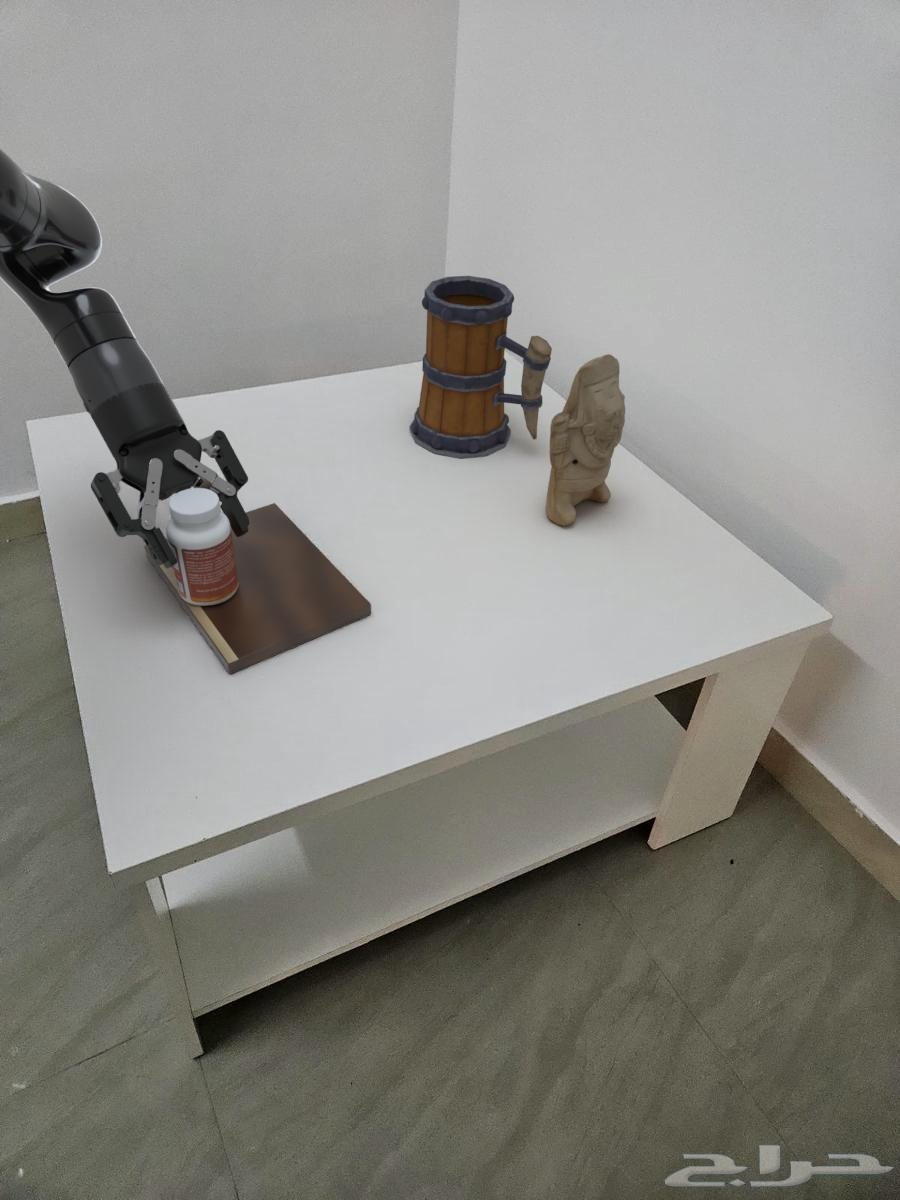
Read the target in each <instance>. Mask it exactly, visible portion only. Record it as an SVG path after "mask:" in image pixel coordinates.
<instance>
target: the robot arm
mask: <svg viewBox="0 0 900 1200" xmlns="http://www.w3.org/2000/svg"><path fill="white" fill-rule="evenodd" d="M102 247H103V237H102V233H101V229H100V227H99V225H98V223H97V220H96V218H95V217H94V215H93V213H91V211H90V210H89V208H87V206H86V205H85V204H84V203H83V202H82V201H81V199H79V198H77V196H75V195H74V194H73V193H72V192H70V191H68V190H67V189H65V188H63V187H62V186H60V185H58V184H55V183H53V182H51V181H48V180H46V179H43V178H41V177H37V176H35V175H31V174H29V173H26V172H25V171H24V170H23V169H22V168H21V167H20V166H19V165H18V164H17V163H16V162H15V161H14V160H13V159H12V157H10V155H8V154H6V152H5V151H3V150H2V149H1V148H0V280H2V282H3V283H4V284H5V285H6V286H7V287H8V288H10V290H11V291H12V292H13V293H14V294H15V295H16V296H18V298H19V299H20V300H21V301H22V302H23V303H24V304H25V306H26V307H27V308H28V309H29V310H30V312H32V313H33V315H34V316H35V317H36V319H37V320H38V321H39V323H40V324H41V325H42V327H43V328H44V329H45V331H46V332H47V334H48V336H49V337H50V339H51V341H52V342H53V344H54V347H55V349H56V350H57V352H58V354H59V355H60V357H61V359H62V361H63V362H64V365H65V367H66V368H67V370H68V372H69V374H70V376H71V378H72V382H73V383H74V386H75V389H76V391H77V393H78V395H79V397H80V399H81V401H82V405H83V407H84V409H85V411H86V413H88V414H89V416H90V417H91V419H92V421H93V423H94V425H95V426H96V429H97V430H98V432H99V434H100V436H101V438H102V439H103V441H104V443H105V444H106V447H107V449H108V450H109V452H110V455H111V456H112V457H113V459H114V460H115V464H116V469H115V470H112V471H109V472H107V473H105V472H101V471H99V472H97V473H96V474H95V475H94V477H93V479H92V481H91V483H90V489H91V490H92V492H93V494H94V496H95V498H96V500H97V501H98V503H99V505H100V507H101V509H102V510H103V512H104V514H105V516H106V518H107V520H108V522H109V524H110V525H111V527H112V529H113V530H114V532H115V534H116V536H118V537H120V538H126V537H128V536H129V537H130V536H138V537H139V538H141V539H142V541H143V542H144V545H145V544H146V546H147V548H148V550H149V552H150V553H151V555H152V557H153V559H154V561H155V562H156V563H157V564H158V565H162V564H163V565H164V566H165V568H166V569H168V568H170V567H172V566H174V565H175V564H176V563H177V559H176V557H175V555H174V553H173V551H172V550H171V548H170V546H169V544H168V542H167V541H166V539H167V538H166V537H165V536H164V534H163V532H162V529H161V528H160V527H156V517H157V509H158V505H159V501H161V502H162V501H165V500H167V499H169V498H171V497H172V496H173V495H175V494H176V493H178V492H180V491H182V490H186V489H190V488H204V489H209V490H211V491H213V492H215V493H216V494H217V495H218V497H219V502H220V507H221V509H220V510H221V511H222V512H223V513H224V514H225V515H226V516H227V518H228V519H229V522H230V526H231V528H232V530H233V532H234V534H235V535H236V536H237V537H240V536H242V535H244V534H246V533H247V532H248V527H247V526H248V525H249V524H250V523H249V518H248V516H247V514H246V512H247V511H245V509H244V506H243V505H242V503H241V501H240V499H239V497H238V492H239V491H240V490H241V489H242V488H243V487H244V486H245V485H246V484H247V483H248V482H249V476H248V475H247V473H246V471H245V469H244V467H243V466H242V463H241V462H240V459H239V458H238V456H237V453H236V452H235V449H234V448H233V446H232V445H231V443H230V441H229V439H228V437H227V435H226V433H225V432H224V431H223V430H221V429H217V430H215V431H214V432H213V433H212V434H211V435H209V436H206V437H203V438H200V439H196V438H195V437H194V436H192V434H191V433H190V432H189V430H188V428H187V426H186V423H185V421H184V419H183V417H182V415H181V414H180V413H181V412H179V410H178V408H177V406H176V404H175V402H174V401H173V398H172V396H171V395H170V393H169V391H168V390H167V388H166V385H165V384H164V382H163V380H162V378H161V376H160V374H159V373H158V371H157V369H156V367H155V365H154V363H153V362H152V360H151V359H150V357H149V355H148V354H147V353H146V352H145V350H144V349H143V347H142V346H141V344H140V342H139V341H138V339H137V337H136V335H135V334H134V331H133V330H132V328H131V326H130V324H129V323H128V322H129V321H127V318H126V317H125V315H124V313H123V311H122V310H121V307H120V305H119V304H118V302H117V300H116V299H115V297H114V296H113V295H112V294H111V293H109V291H108V290H105V289H104V288H101V287H94V286H93V287H92V286H91V287H82V288H77V289H72V290H66V291H60V292H54V291H51V290H50V288H49V287H50V286H51V285H53V284H56V283H57V282H59V281H61V280H63V279H65V278H68V277H70V276H71V275H74V274H76V273H77V272H80V271H82V270H83V269H86V268H88V267H90V266H91V265H93V263H95V262H96V261H97V260H98V258H99V256H100V254H101V252H102ZM202 453H205V454H207V456H208V457H209V458H210V459H214V460H215V463H216V464H217V466H218V467H219V470H220V472H221V474H222V475H223V477H224V478H225V479H224V478H222V477H220V475H218V473H217V472H216V471H215V470H213V469H212V468H210V467H209V466H207V465H206V464H204V463H202V462H201V461H202ZM120 482H122V483H124V484H125V485H127V486H129V487H131V488H133V489H134V490H136V491H138V492H139V493H138V502H137V518H131V515H130V514H129V511H128V510H127V508H126V506H125V504H124V503H123V501H122V499H121V497H120V496H119V493H120V491H121V485H120Z"/></svg>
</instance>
